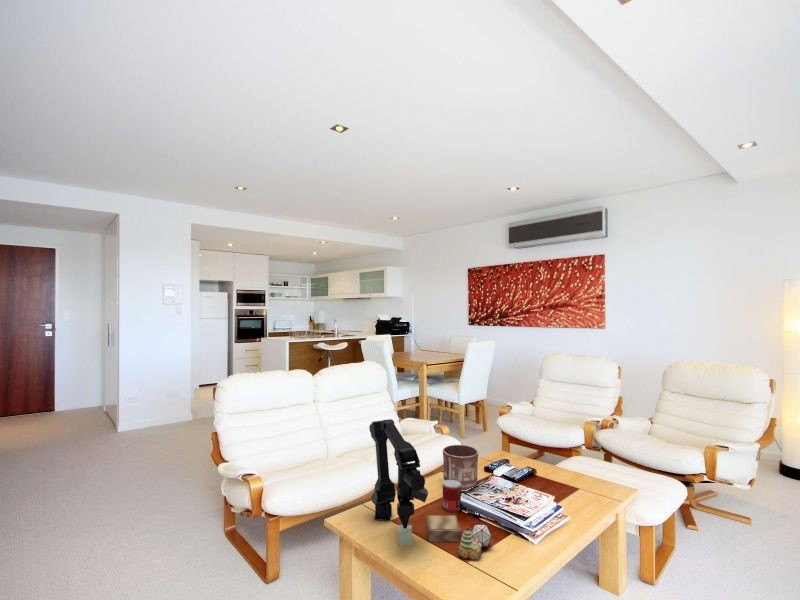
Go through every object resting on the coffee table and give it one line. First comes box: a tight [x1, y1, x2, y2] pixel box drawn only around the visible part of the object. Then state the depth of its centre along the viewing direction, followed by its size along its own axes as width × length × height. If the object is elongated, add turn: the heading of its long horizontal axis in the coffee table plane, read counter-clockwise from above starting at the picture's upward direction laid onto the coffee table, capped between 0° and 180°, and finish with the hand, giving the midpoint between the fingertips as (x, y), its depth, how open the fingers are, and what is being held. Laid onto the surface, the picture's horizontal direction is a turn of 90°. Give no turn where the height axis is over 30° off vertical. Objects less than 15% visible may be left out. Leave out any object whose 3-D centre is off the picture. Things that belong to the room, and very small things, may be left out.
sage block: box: [397, 524, 413, 546], centre depth 163 cm, size 5×5×5 cm
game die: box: [471, 522, 494, 549], centre depth 160 cm, size 9×8×10 cm
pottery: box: [442, 444, 479, 490], centre depth 212 cm, size 18×18×18 cm
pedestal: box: [426, 514, 462, 543], centre depth 169 cm, size 12×12×4 cm
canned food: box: [442, 480, 462, 513], centre depth 190 cm, size 8×8×11 cm
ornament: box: [458, 526, 482, 561], centre depth 154 cm, size 8×6×10 cm
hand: (405, 521), depth 163 cm, fingers open, 9 cm apart
